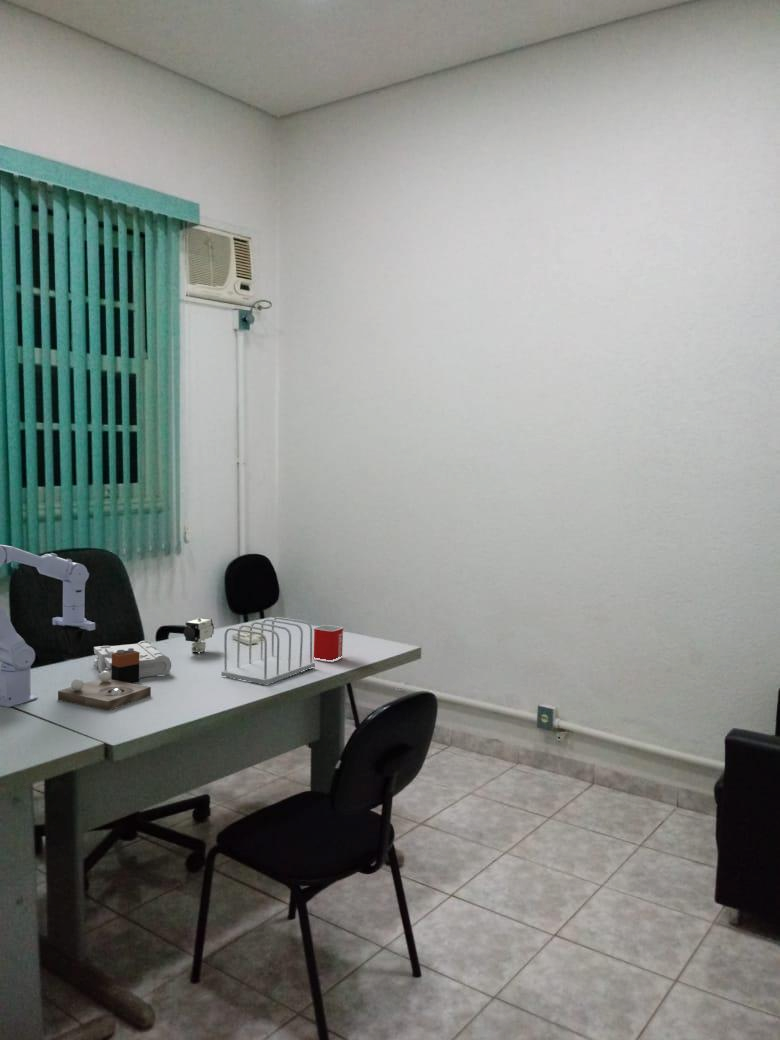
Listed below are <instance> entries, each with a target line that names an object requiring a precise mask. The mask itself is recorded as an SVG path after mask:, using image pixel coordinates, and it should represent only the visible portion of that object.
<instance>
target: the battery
mask: <svg viewBox="0 0 780 1040" xmlns="http://www.w3.org/2000/svg"><path fill="white" fill-rule="evenodd" d="M112 680H117V681H122V682H127V683H133V684H137V683H139V682H140V677H139V652H137V651H134V649H133V648H130V649H128V650H127V651H125V650H117V652H116V653H112ZM136 682H137V683H136Z"/></svg>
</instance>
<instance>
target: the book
mask: <svg viewBox="0 0 780 1040" xmlns="http://www.w3.org/2000/svg"><path fill="white" fill-rule="evenodd" d="M130 648H133V649H134V651H137V652H139V678H145V677H147V678H148V677H154V676H155V675H156V676H155V677H159V676H158V675H164V676H168V674H170V672H171V668H172V662H171V661H172V660H170V657H168V656H167V655H166V654H164V653H163V652H162V651H160V650H158V649H157V647H155V646H154V645H153V644H152V643H151V642H150V641H147V640H141V641H139V642H137V643H130V644H120V645H102V646H101V645H99V646H93V651H94V652H93V653H94V654H95V655H96V656H97V657H96V659H94V660H93V662H94V663H93V664H95V665H96V666H97V667H96V666H95V665H94V666H95V667H96V668H98V672H99V671H100V672H103V671H108V672H110V674H111V679H112V653H116V652H117V650H125V651H127V650H128V649H130ZM100 672H99V673H100Z"/></svg>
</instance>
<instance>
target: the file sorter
mask: <svg viewBox="0 0 780 1040" xmlns="http://www.w3.org/2000/svg"><path fill="white" fill-rule="evenodd" d="M281 620H282V621H281ZM287 621H288V622H287ZM289 621H290V622H289ZM266 622H271V623H266ZM293 622H295V623H293ZM296 622H297V623H296ZM275 623H277V624H283V625H289V626H295V627H297V628H298V629H299V631H300V644H299V645H300V646H299V659H296V658H291V656H292V634H291V632H290V630H289V629H288V628H287V627H286V626H281V625H276V624H275ZM298 623H303V624H306V625H307V626H308V627H309V661H308V660H302V659H303V658H302V657H303V642H304V640H303V638H304V633H303V632H304V631H303V628H302V627H301V625H299V624H298ZM254 625H260V626H261V627H259V626H254ZM265 626H267V627H271V629H267V628H264V627H265ZM242 628H247V629H242ZM275 628H277V629H282V630H285V631H286V633H288V657H284V656H280V636H279V633H278V632H276V630H274V629H275ZM248 629H249V630H248ZM254 630H258V631H260V632H258V631H254ZM229 631H236V632H237V651H236V652H237V657H236V659H237V660H236V662H237V664H236V665H237V666H235V667H232V668H229V669H227V667H228V665H227V664H228V661H227V660H228V658H227V657H228V655H227V654H228V652H227V650H228V649H227V647H228V645H227V643H228V637H227V636H228V632H229ZM241 632H242V633H249V644H248V645H249V647H248V649H249V650H248V653H249V654H248V655H249V656H248V659H249V661H248V663H247V662H246V663H244V664H242V665H240V654H241V653H240V650H241V648H240V646H241V645H240V644H241ZM264 632H268V633H271V655H269V656H268V649H267V647H268V645H267V644H268V642H267V638H266V636H265V635H264ZM253 634H255V635H258V636H260V659H257V660H254V661H252V645H253V642H252V641H253V640H252V639H253V638H252V637H253ZM275 636H276V643H277V645H276V655H275V654H274V653H275V652H274V651H275V649H274V648H275V647H274V645H275V642H274V641H275V640H274V639H275ZM223 647H224V670H222V671H221V674H220V675H221V676H226V677H231V678H235V679H234V680H236V679H241V680H246V681H251V682H256V683H260V684H259V685H261V684H264V685H263V686H268V685H270V684H269V683H271V684H273V683H272V682H274V683H276V682H278V681H277V680H279V681H281V680H280V679H282V680H284V679H283V678H285V677H287V678H289V677H288V676H290V675H293V674H295V673H298V674H300V673H299V672H301V671H303V670H306V669H309V668H311V667H314V666H315V665H316V664H315V662H313V627H312V625H311V623H310V622H309V621H307V620H301V619H296V618H295V619H294V618H287V617H280V616H277V617H274V619H271V618H267V619H264V620H263V621H262V622H260V621H255V622H253V623H251V625H247V624H242V625H241V626H239V628H234V627H229V628H227V629H226V630H225V632H224V645H223ZM263 650H264V653H263ZM263 655H264V656H263ZM315 667H316V666H315ZM301 673H302V672H301ZM293 676H294V675H293ZM226 677H225V678H226ZM290 677H291V676H290ZM231 678H230V679H231ZM285 679H286V678H285ZM241 680H240V681H241ZM246 681H245V682H246ZM275 681H276V682H275ZM251 682H250V683H251ZM256 683H255V684H256ZM267 684H268V685H267Z"/></svg>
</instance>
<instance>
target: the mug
mask: <svg viewBox="0 0 780 1040" xmlns="http://www.w3.org/2000/svg"><path fill="white" fill-rule="evenodd" d="M343 638H344V627H343V626H337V625H329V624H322V625H318V626H316V627H313V658H314V657H315V658H320V659H326V660H333V659H336V658H338V657H341V656H342V657H343V641H344V639H343Z"/></svg>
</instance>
